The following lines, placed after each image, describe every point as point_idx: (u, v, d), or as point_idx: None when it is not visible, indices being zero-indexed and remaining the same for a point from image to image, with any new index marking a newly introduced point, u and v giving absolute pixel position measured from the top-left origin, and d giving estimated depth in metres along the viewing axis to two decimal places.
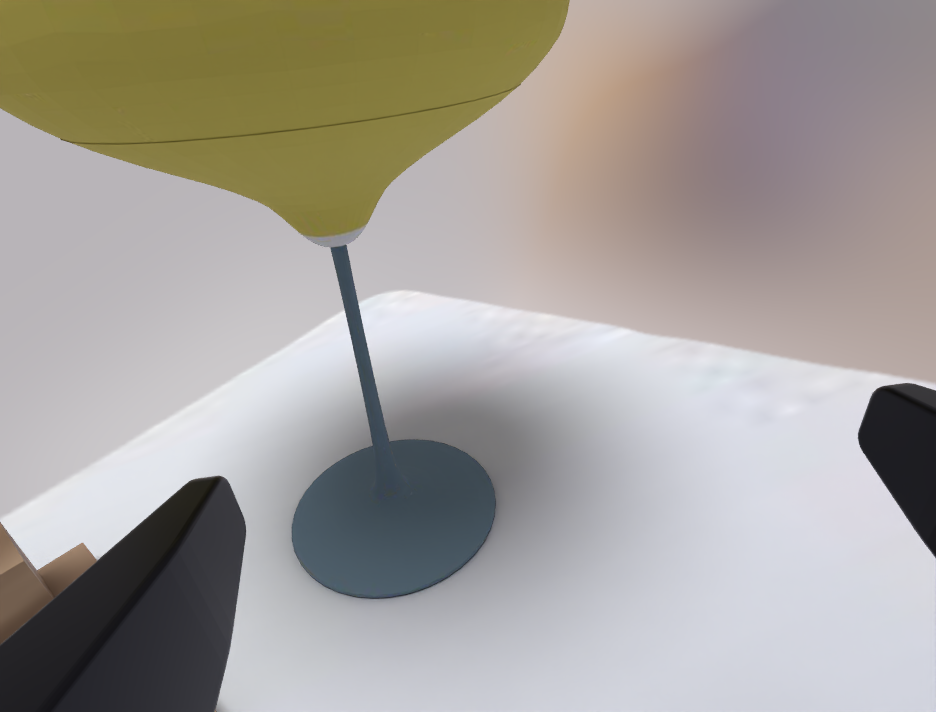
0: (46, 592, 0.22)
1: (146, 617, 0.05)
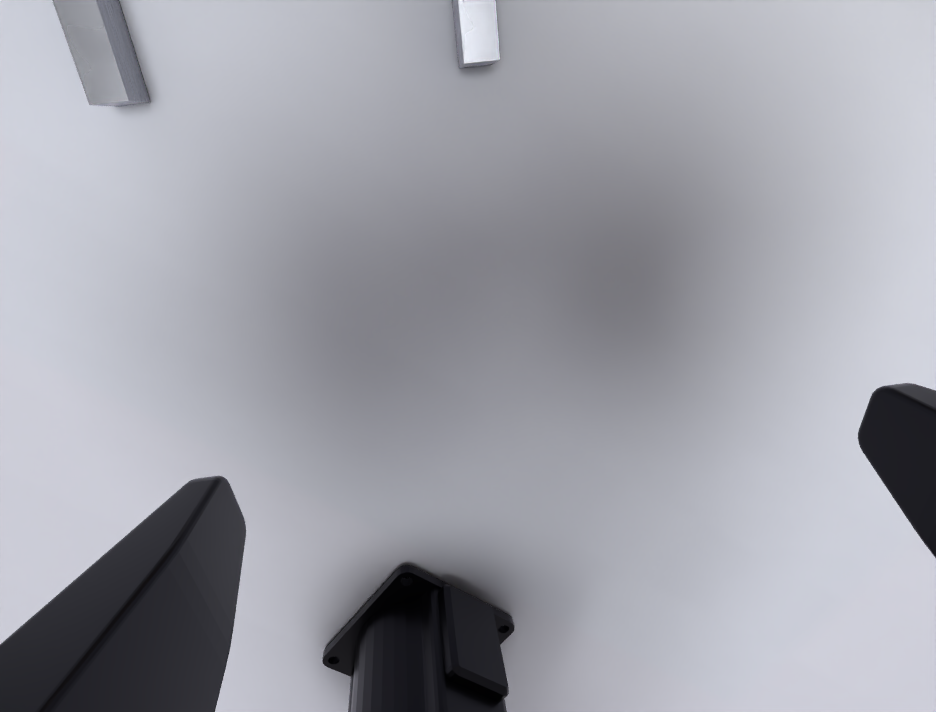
0: None
1: (146, 617, 0.05)
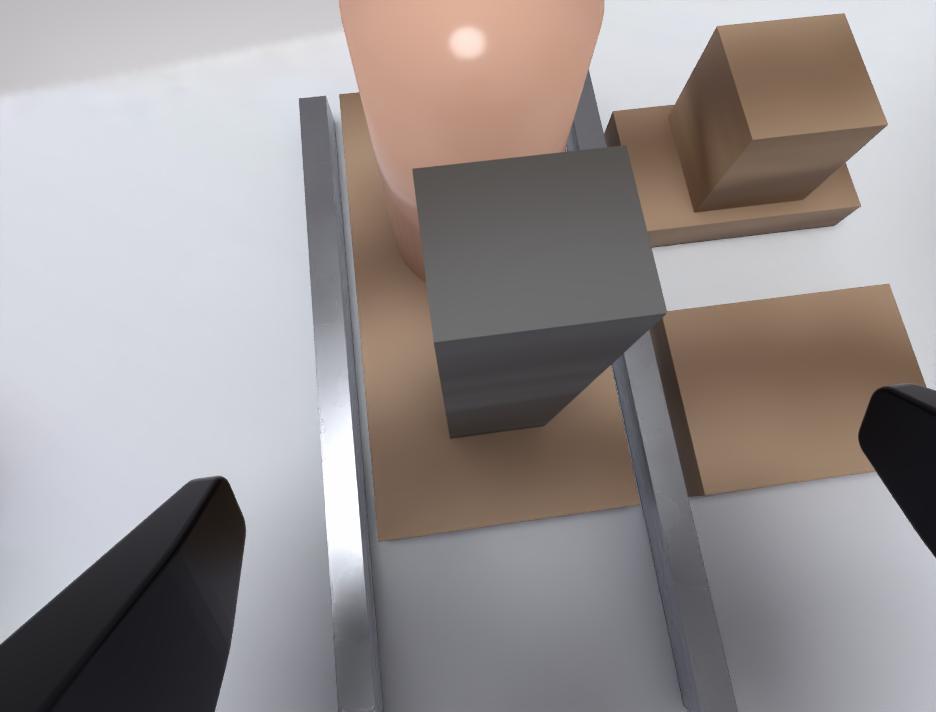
0: (840, 165, 0.17)
1: (148, 615, 0.05)
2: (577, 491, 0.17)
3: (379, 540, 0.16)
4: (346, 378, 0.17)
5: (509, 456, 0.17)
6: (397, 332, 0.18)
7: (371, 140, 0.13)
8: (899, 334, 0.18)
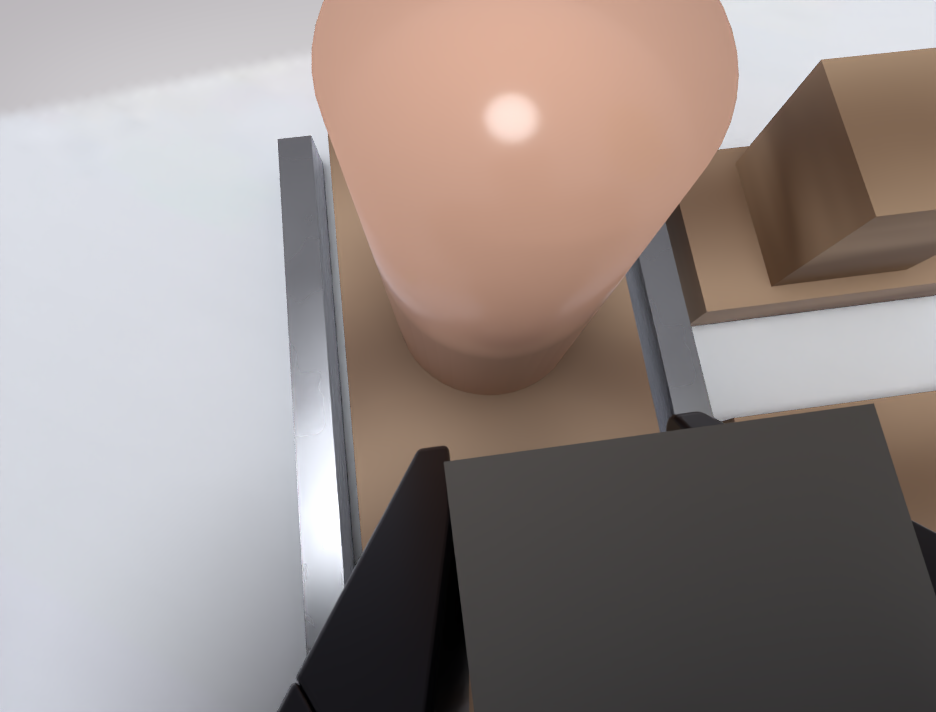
0: None
1: (452, 571, 0.05)
2: None
3: None
4: (335, 507, 0.14)
5: None
6: (401, 446, 0.14)
7: None
8: None
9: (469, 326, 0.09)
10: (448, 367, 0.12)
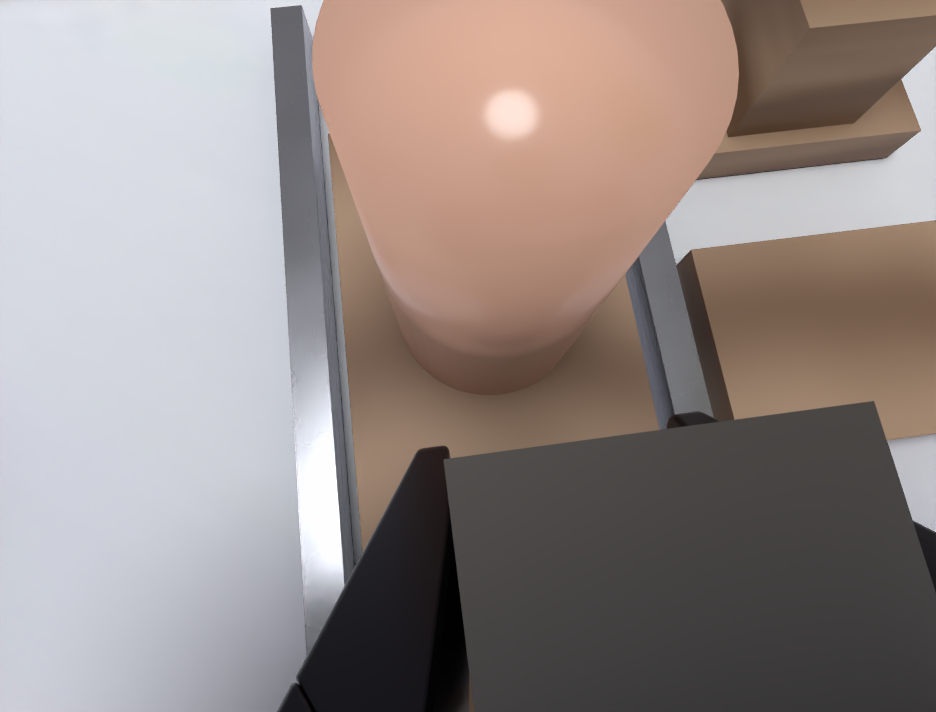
0: (905, 72, 0.15)
1: (452, 572, 0.05)
2: None
3: None
4: (322, 324, 0.15)
5: None
6: (401, 445, 0.14)
7: None
8: None
9: (470, 325, 0.09)
10: (448, 366, 0.12)
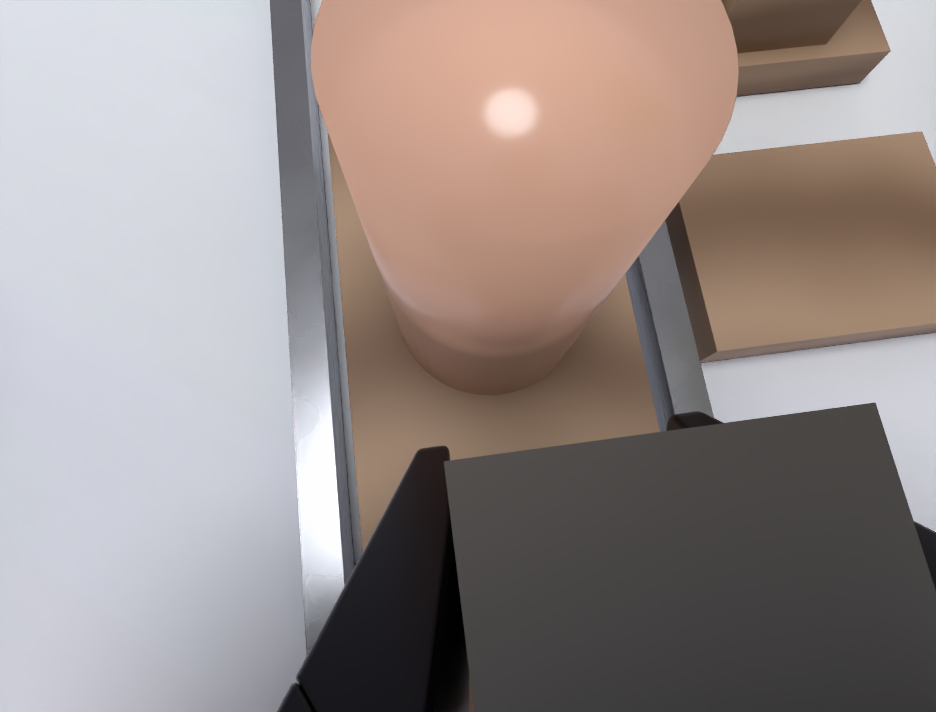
0: None
1: (453, 571, 0.05)
2: None
3: None
4: (315, 227, 0.16)
5: None
6: (401, 445, 0.14)
7: None
8: (933, 184, 0.16)
9: (469, 325, 0.09)
10: (448, 366, 0.12)
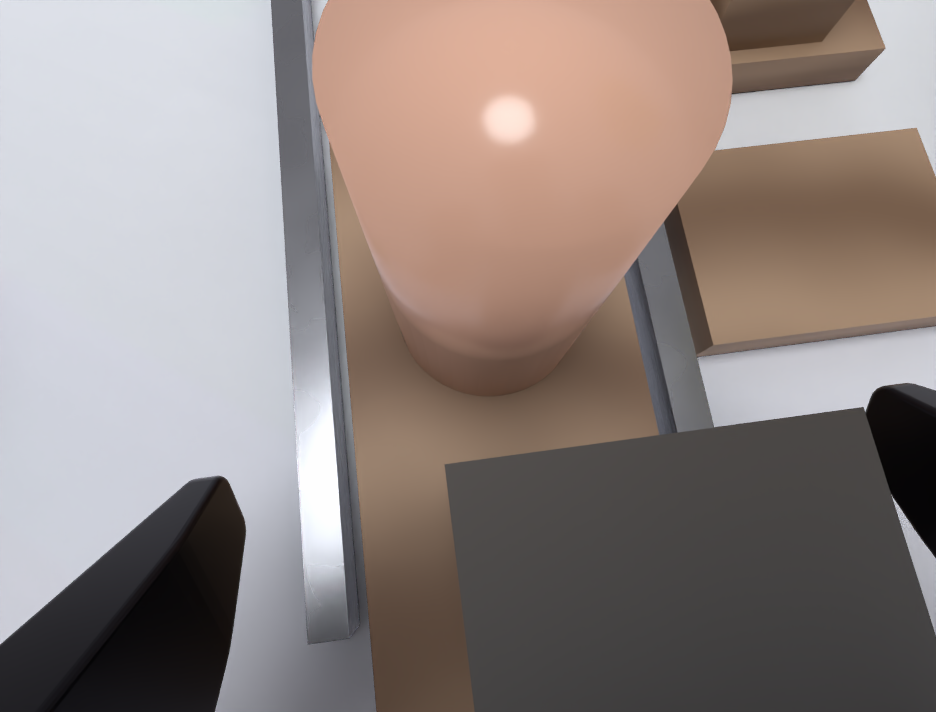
0: None
1: (146, 617, 0.05)
2: None
3: None
4: (316, 222, 0.16)
5: None
6: (401, 447, 0.14)
7: None
8: (928, 180, 0.16)
9: (468, 328, 0.09)
10: (448, 368, 0.12)
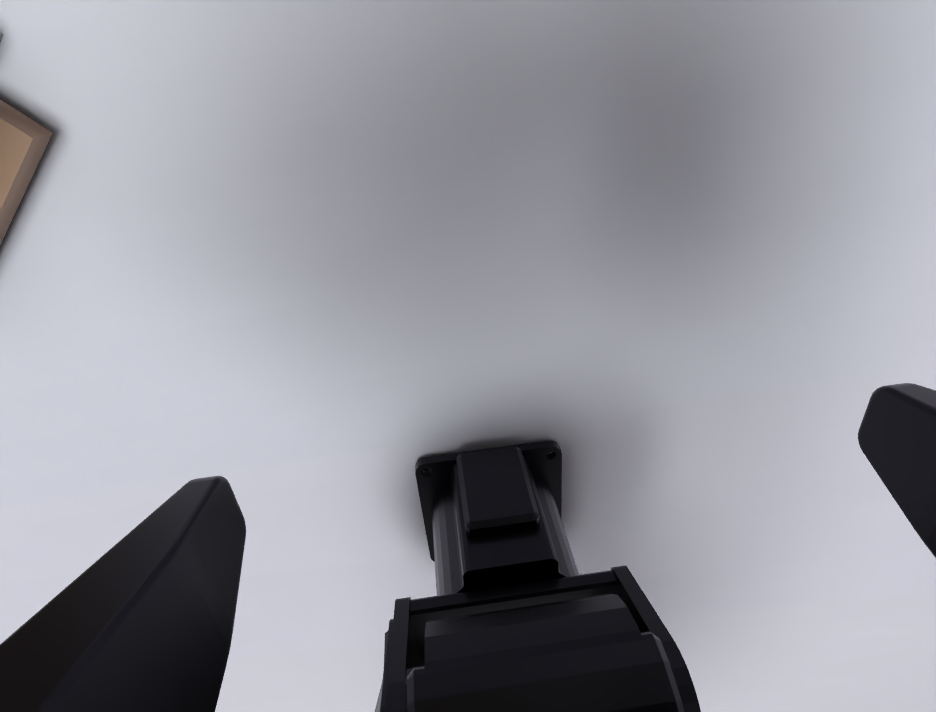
0: None
1: (146, 617, 0.05)
2: None
3: None
4: None
5: None
6: None
7: None
8: None
9: None
10: None
